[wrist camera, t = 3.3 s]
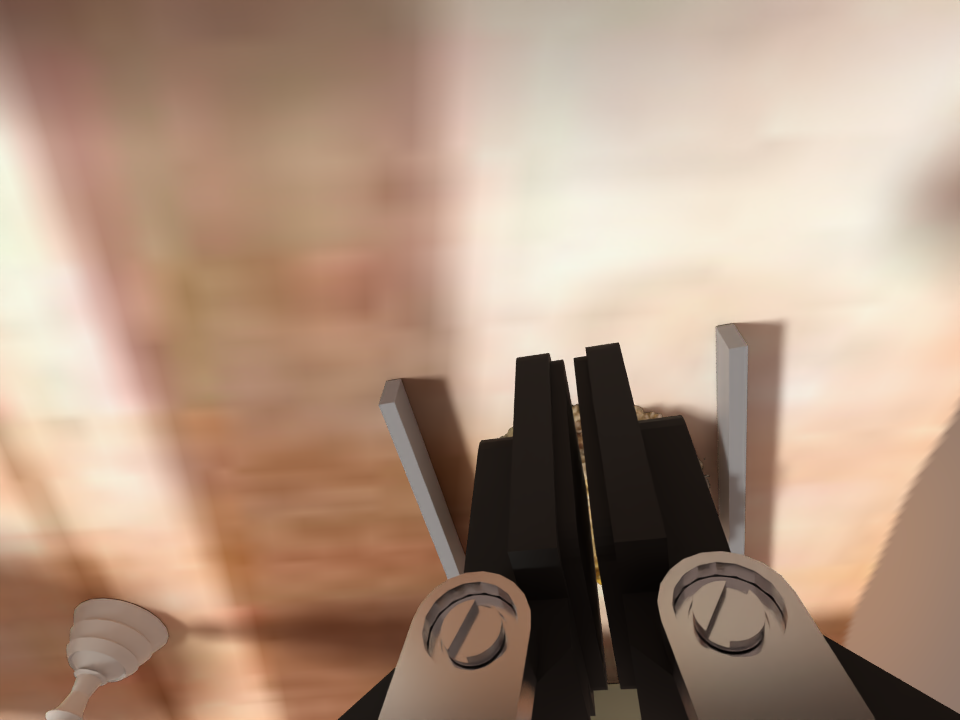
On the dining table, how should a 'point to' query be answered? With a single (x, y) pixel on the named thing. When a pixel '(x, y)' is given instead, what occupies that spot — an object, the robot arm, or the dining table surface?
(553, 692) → the robot arm
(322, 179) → the dining table surface
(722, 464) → the low barrier
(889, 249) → the dining table surface
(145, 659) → the chalice
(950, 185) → the dining table surface
